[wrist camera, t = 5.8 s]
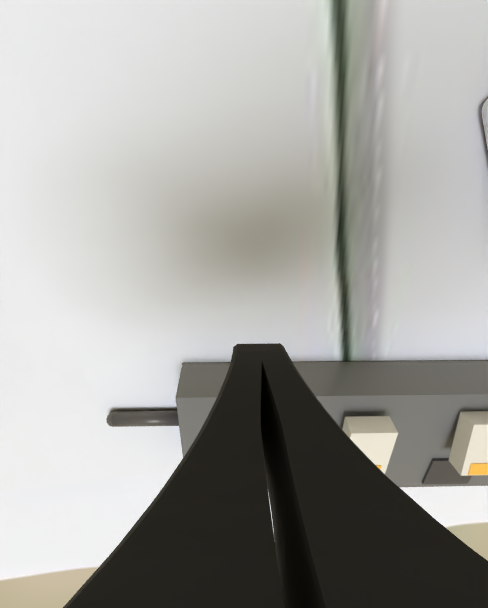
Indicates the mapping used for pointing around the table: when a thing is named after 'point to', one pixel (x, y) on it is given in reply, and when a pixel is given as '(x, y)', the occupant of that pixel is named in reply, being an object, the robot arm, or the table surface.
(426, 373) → the power strip
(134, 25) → the table surface
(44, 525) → the table surface
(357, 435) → the rocker
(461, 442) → the rocker
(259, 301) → the table surface
